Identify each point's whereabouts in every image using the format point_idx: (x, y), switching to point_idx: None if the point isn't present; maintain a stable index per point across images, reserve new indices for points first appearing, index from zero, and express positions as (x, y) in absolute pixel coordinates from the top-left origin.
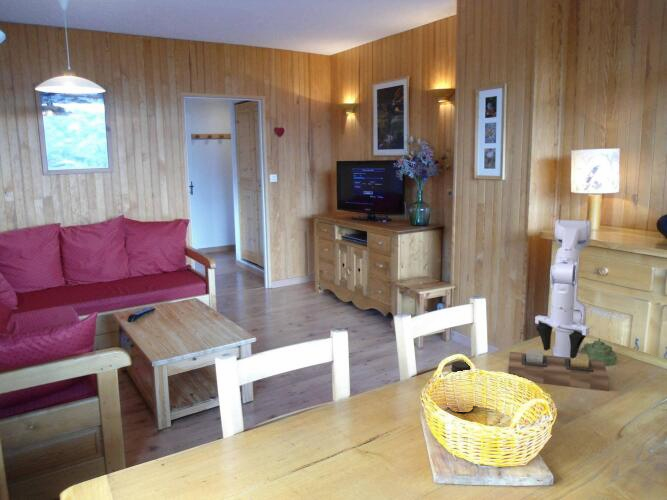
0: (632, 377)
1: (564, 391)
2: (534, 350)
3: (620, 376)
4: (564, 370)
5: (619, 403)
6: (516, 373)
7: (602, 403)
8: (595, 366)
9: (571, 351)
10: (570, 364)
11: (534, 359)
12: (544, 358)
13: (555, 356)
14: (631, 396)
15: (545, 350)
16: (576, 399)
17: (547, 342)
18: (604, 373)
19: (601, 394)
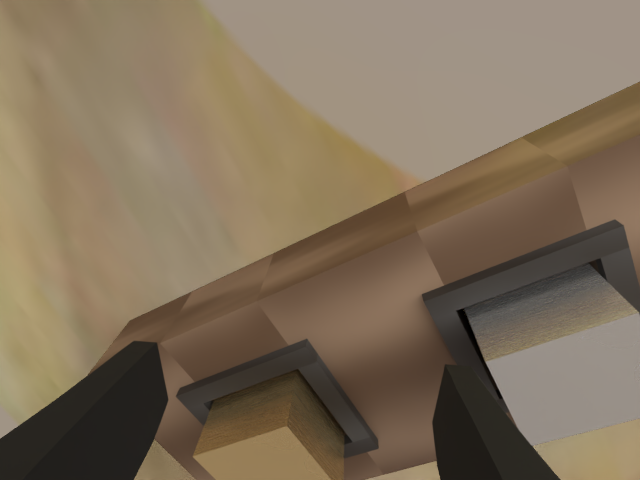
0: (156, 474)
1: (262, 179)
2: (585, 410)
3: None
4: (307, 317)
5: (14, 236)
6: (608, 120)
7: (52, 179)
8: None
9: (86, 393)
10: (309, 396)
11: (537, 309)
12: None
13: None
14: (42, 332)
15: (453, 365)
16: (158, 126)
17: (467, 475)
18: None
19: (124, 272)
